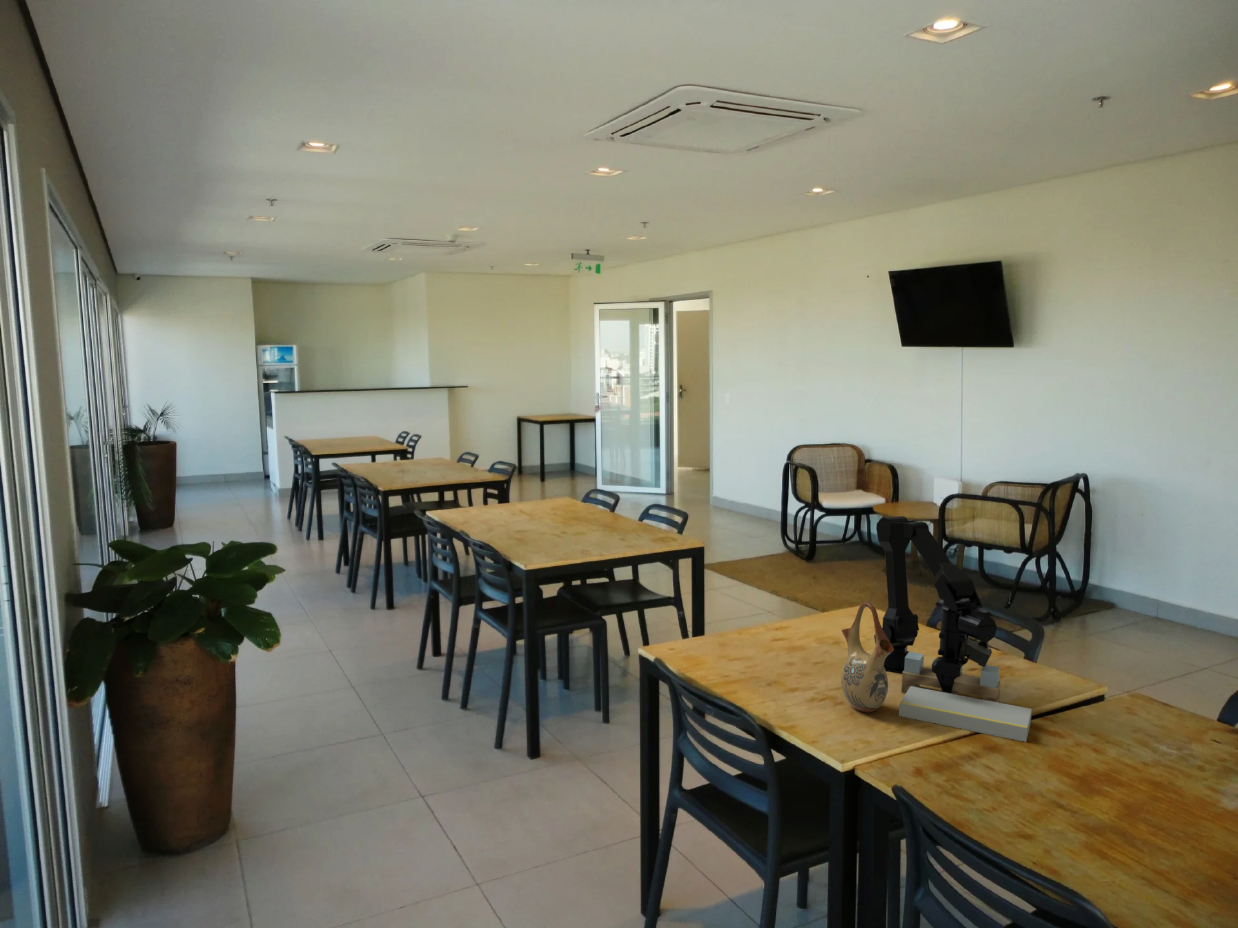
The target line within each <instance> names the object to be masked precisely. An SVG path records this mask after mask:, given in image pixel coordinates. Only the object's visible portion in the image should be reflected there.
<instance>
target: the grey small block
mask: <svg viewBox="0 0 1238 928" xmlns="http://www.w3.org/2000/svg"><path fill="white" fill-rule="evenodd" d="M924 661H925V654H924V653H920V652H913V651H909V653H908V654H907V655H906V657H905V665H904V672H909V673H914V674H920V672H921V671H922V669H923V667H924Z"/></svg>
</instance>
